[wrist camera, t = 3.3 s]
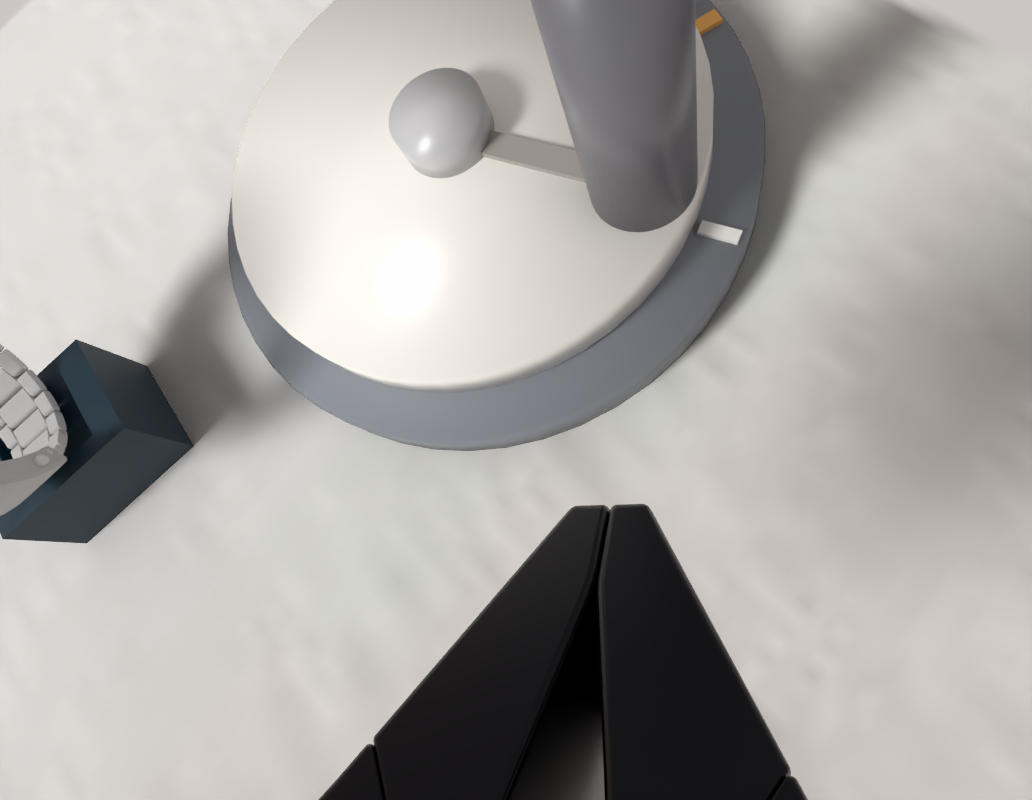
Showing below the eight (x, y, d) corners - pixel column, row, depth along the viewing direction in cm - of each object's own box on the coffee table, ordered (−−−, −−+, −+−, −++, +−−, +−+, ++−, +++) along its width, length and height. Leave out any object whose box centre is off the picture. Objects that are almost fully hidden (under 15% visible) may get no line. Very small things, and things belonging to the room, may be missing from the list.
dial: (823, 67, 19) (940, -429, 10) (495, 498, 19) (278, 418, 9) (442, -86, 25) (282, -491, 16) (183, 239, 25) (-150, 25, 15)
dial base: (886, 87, 20) (901, 47, 19) (518, 573, 20) (503, 574, 18) (454, -85, 27) (439, -125, 26) (170, 271, 27) (137, 252, 25)
